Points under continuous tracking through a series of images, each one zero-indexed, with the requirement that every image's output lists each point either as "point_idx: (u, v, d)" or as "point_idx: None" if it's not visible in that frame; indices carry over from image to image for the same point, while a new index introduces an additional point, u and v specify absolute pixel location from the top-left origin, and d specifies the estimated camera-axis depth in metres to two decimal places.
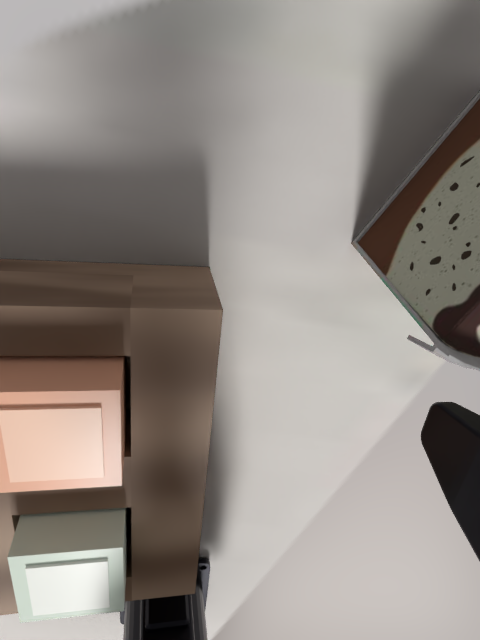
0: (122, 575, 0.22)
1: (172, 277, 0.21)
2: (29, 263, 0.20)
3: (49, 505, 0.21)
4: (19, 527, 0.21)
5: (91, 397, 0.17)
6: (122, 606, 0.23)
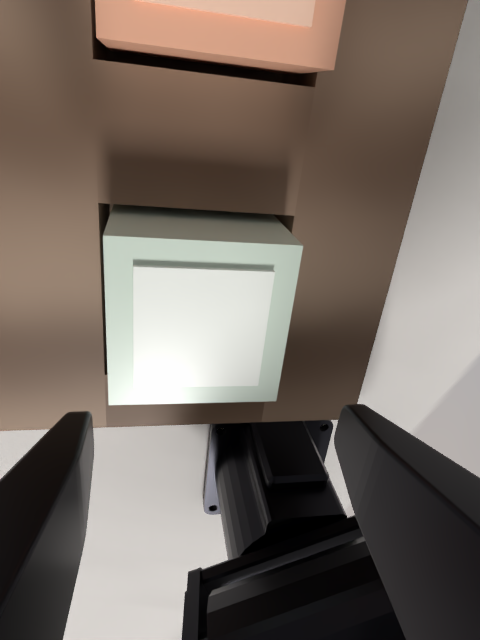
0: (289, 317, 0.12)
1: None
2: None
3: (164, 189, 0.12)
4: (114, 219, 0.12)
5: None
6: (275, 390, 0.14)
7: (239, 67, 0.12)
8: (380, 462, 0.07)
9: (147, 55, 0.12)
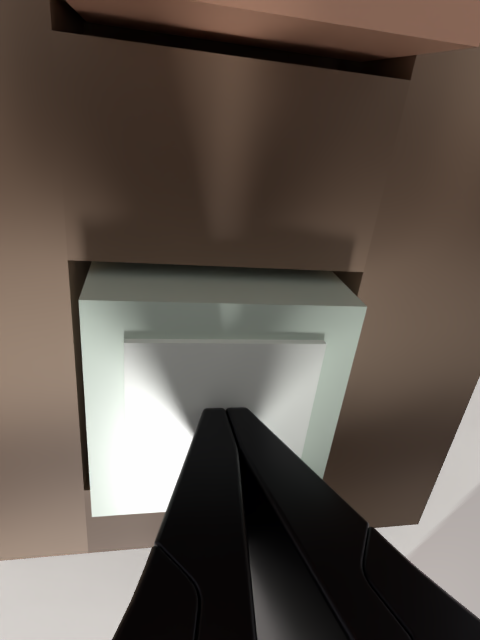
0: (341, 399, 0.09)
1: None
2: None
3: (170, 238, 0.08)
4: (98, 267, 0.08)
5: None
6: None
7: (286, 49, 0.08)
8: (241, 469, 0.07)
9: (144, 29, 0.07)
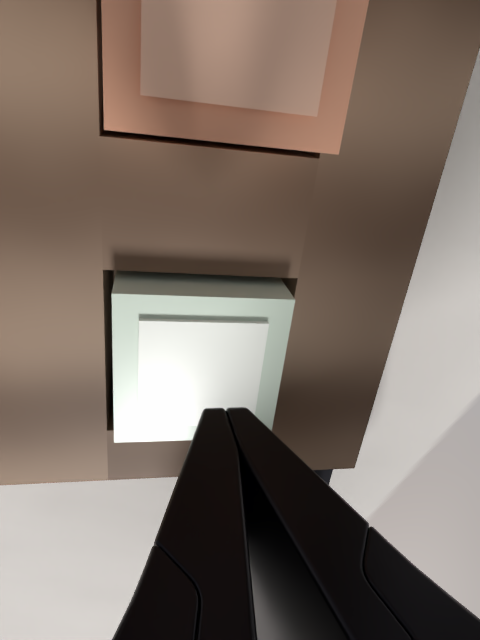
0: (282, 362, 0.13)
1: None
2: None
3: (168, 256, 0.12)
4: (121, 273, 0.13)
5: None
6: (269, 428, 0.14)
7: None
8: (241, 470, 0.07)
9: None
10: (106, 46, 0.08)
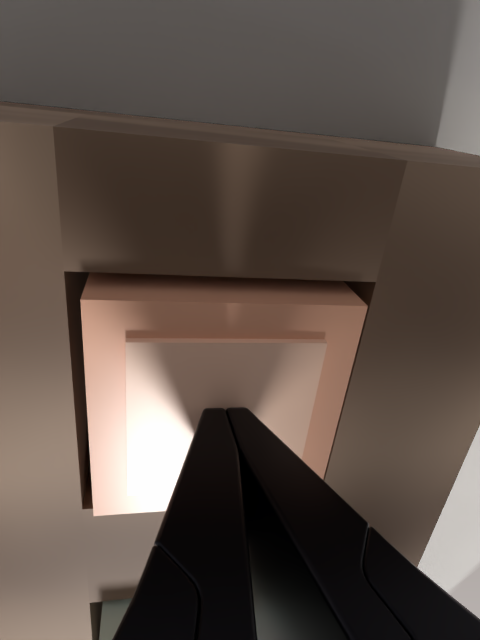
0: None
1: (402, 147, 0.11)
2: (130, 116, 0.10)
3: None
4: None
5: (309, 320, 0.08)
6: None
7: None
8: (241, 469, 0.07)
9: None
10: (94, 464, 0.09)
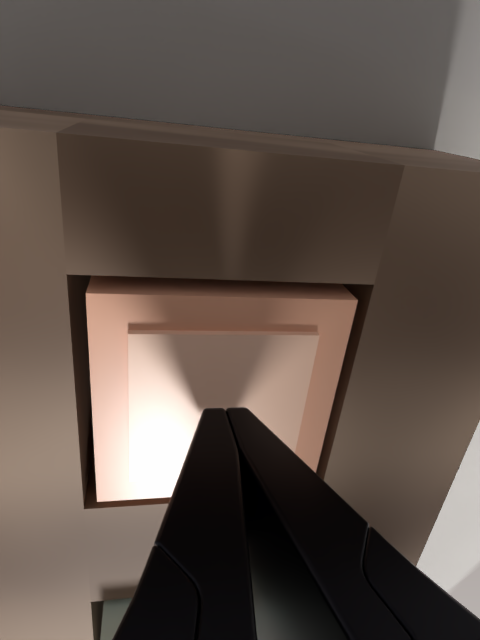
0: None
1: (400, 150, 0.11)
2: (131, 120, 0.11)
3: None
4: None
5: (302, 313, 0.08)
6: None
7: None
8: (241, 470, 0.07)
9: None
10: (98, 451, 0.09)
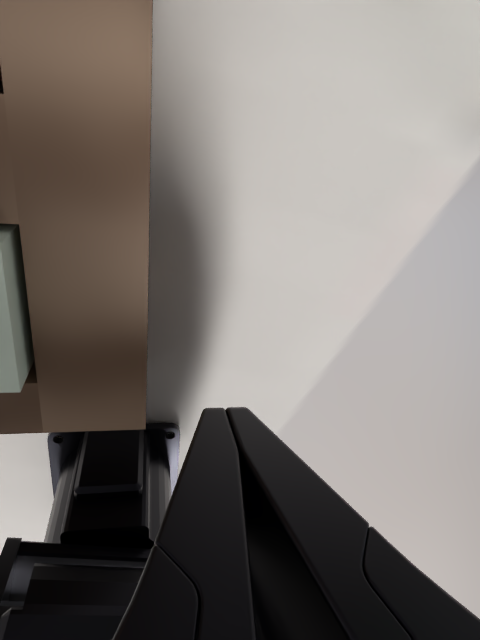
0: (7, 311, 0.13)
1: None
2: None
3: None
4: None
5: None
6: (16, 382, 0.14)
7: None
8: (240, 470, 0.07)
9: None
10: None
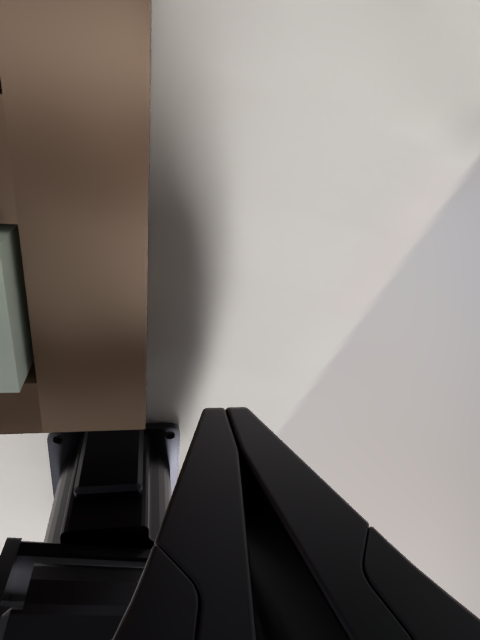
0: (6, 311, 0.13)
1: None
2: None
3: None
4: None
5: None
6: (15, 382, 0.14)
7: None
8: (241, 470, 0.07)
9: None
10: None
